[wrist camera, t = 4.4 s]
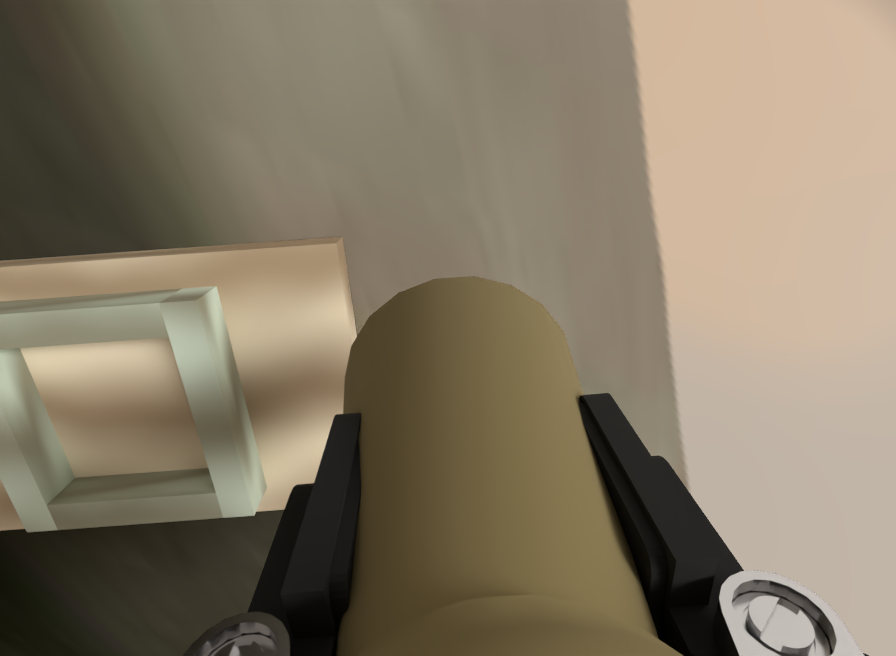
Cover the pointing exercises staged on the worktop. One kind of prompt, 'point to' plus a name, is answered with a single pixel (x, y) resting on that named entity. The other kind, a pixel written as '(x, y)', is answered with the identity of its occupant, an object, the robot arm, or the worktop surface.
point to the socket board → (168, 381)
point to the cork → (481, 488)
